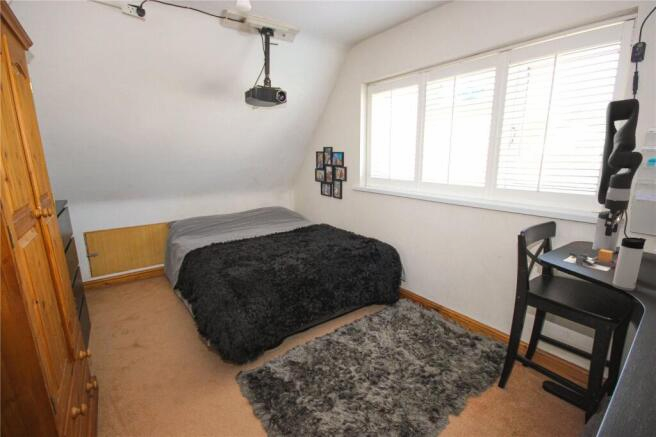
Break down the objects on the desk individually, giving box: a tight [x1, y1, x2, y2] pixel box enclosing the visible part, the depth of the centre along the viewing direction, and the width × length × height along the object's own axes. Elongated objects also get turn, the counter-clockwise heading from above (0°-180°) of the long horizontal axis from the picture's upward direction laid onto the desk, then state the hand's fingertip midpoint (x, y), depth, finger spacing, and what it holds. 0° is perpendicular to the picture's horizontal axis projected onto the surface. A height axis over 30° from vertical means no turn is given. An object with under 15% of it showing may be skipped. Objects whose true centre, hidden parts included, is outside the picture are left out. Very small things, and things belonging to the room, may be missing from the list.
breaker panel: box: [562, 255, 611, 272], centre depth 144 cm, size 15×16×2 cm
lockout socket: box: [591, 255, 617, 269], centre depth 142 cm, size 8×8×2 cm
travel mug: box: [612, 236, 647, 292], centre depth 118 cm, size 6×7×20 cm
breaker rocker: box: [569, 250, 595, 266], centre depth 143 cm, size 4×9×1 cm, turn 36°
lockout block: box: [597, 249, 614, 264], centre depth 141 cm, size 4×4×6 cm
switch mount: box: [575, 253, 589, 266], centre depth 143 cm, size 6×2×3 cm, turn 126°
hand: (610, 234), depth 139 cm, fingers open, 8 cm apart
